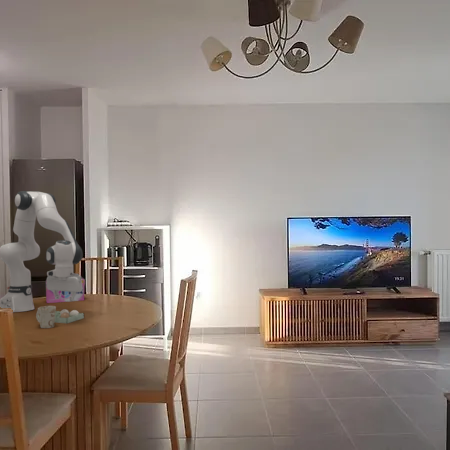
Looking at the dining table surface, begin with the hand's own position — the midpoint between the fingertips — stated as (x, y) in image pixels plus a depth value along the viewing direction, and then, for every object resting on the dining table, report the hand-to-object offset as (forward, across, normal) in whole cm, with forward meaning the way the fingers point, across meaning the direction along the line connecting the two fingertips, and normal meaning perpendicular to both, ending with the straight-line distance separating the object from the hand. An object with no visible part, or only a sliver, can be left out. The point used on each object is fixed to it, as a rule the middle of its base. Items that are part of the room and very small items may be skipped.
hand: (64, 299), depth 266 cm
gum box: (+13, +43, -51) cm, 68 cm away
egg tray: (+12, +6, -3) cm, 13 cm away
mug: (+12, +2, +12) cm, 17 cm away
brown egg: (+11, -1, 0) cm, 11 cm away
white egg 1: (+11, +6, -6) cm, 14 cm away
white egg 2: (+11, -1, -6) cm, 13 cm away
